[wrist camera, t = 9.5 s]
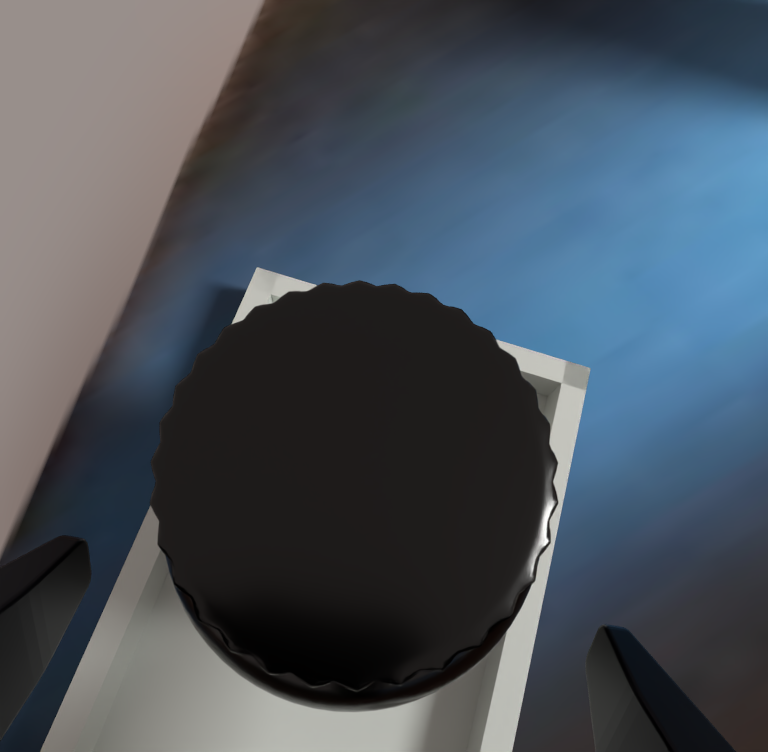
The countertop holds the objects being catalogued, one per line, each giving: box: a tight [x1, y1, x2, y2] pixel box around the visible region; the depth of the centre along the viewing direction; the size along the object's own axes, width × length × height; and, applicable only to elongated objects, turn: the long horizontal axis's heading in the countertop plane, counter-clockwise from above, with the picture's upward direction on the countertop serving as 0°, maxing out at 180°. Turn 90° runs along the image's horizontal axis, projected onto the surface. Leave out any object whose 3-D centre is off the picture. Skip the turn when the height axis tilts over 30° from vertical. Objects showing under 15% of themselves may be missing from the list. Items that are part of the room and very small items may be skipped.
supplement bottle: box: [150, 280, 559, 712], centre depth 12 cm, size 7×7×12 cm
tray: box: [40, 267, 590, 752], centre depth 17 cm, size 18×12×2 cm, turn 162°
